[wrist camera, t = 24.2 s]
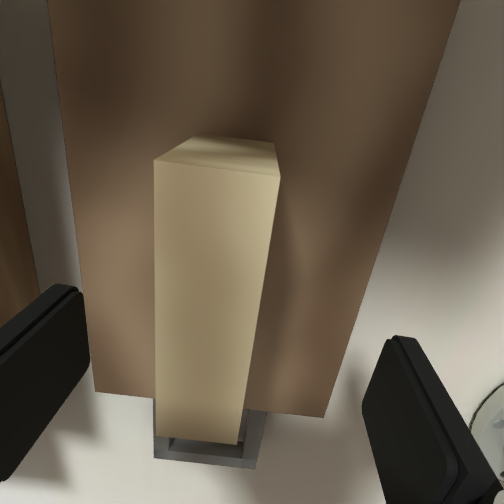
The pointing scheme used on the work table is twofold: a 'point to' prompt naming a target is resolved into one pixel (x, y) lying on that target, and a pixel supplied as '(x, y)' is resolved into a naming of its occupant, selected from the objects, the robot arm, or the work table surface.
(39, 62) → the work table surface
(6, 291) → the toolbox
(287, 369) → the lid
